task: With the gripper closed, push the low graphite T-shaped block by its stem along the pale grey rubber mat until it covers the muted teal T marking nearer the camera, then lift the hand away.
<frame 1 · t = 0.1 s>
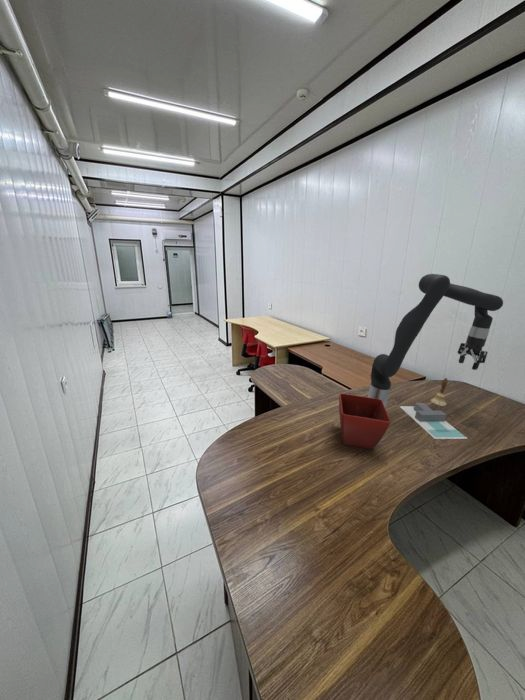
hand: (467, 366, 141), 29 cm above the table, tool pointing down, fingers open, 8 cm apart
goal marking: (440, 428, 137), resting on runner mat
runner mat: (430, 421, 143), on the table
t block: (424, 415, 148), resting on runner mat, touching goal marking
hand bell: (438, 403, 164), on the table
plant pot: (356, 439, 125), on the table
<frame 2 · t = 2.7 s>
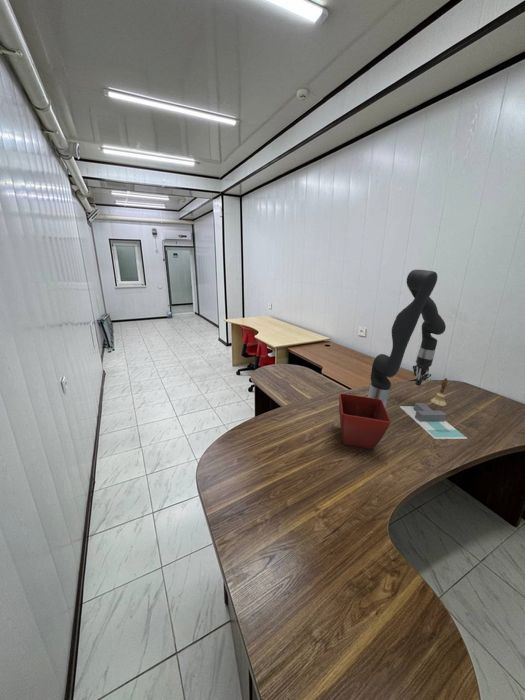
hand: (417, 385, 155), 13 cm above the table, tool pointing down, fingers closed
nothing on the table moved.
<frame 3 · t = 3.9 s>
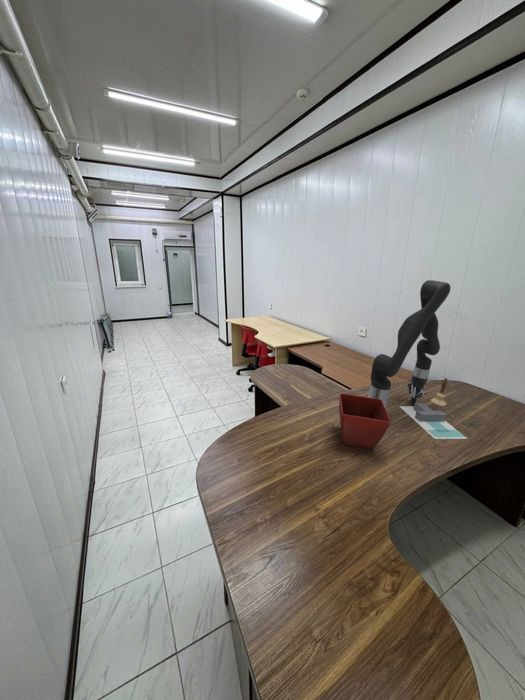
hand: (412, 402, 158), 2 cm above the table, tool pointing down, fingers closed
nothing on the table moved.
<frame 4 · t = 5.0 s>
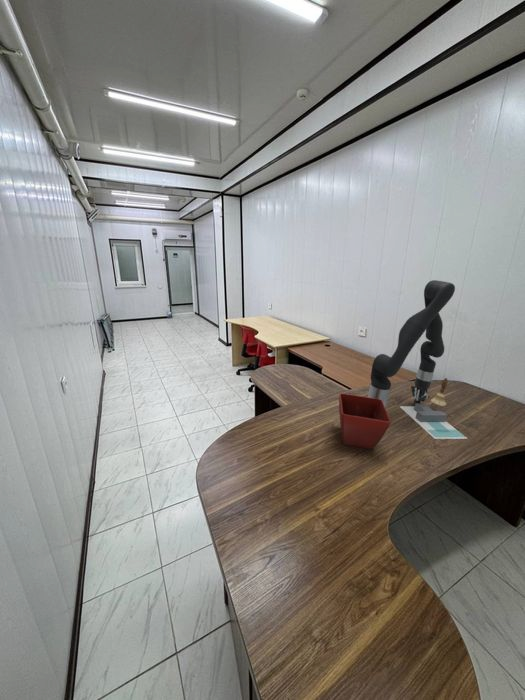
hand: (416, 405, 155), 2 cm above the table, tool pointing down, fingers closed
t block: (425, 415, 148), resting on runner mat, touching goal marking, gripper
everything else where it was.
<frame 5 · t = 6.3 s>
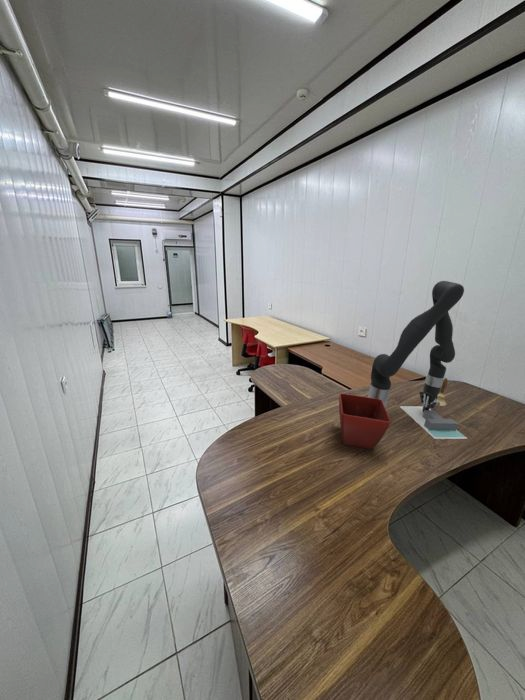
hand: (424, 412, 148), 2 cm above the table, tool pointing down, fingers closed
t block: (434, 423, 141), resting on runner mat, touching gripper
everything else where it was.
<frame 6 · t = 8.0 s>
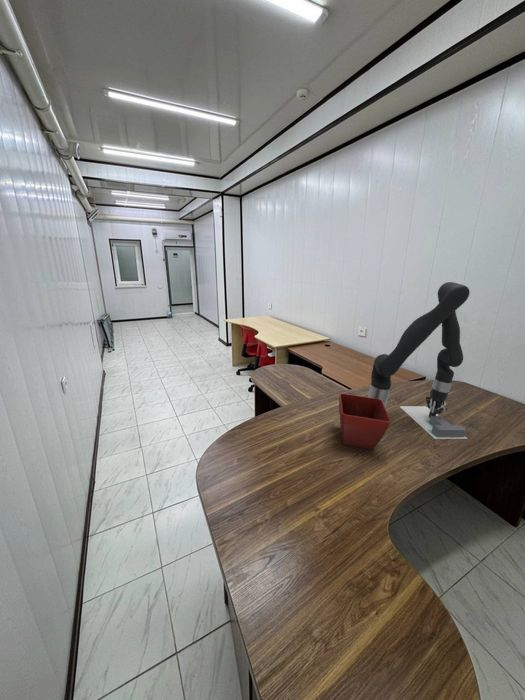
hand: (431, 418, 143), 2 cm above the table, tool pointing down, fingers closed
t block: (441, 429, 136), resting on runner mat, touching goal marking, gripper
everything else where it was.
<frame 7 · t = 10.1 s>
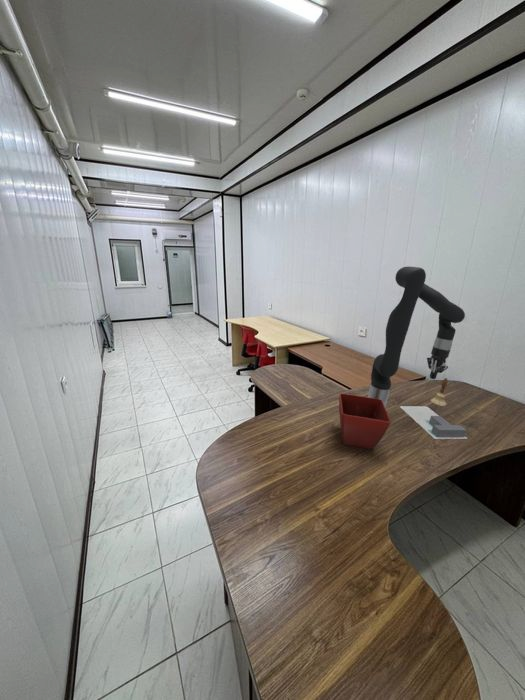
hand: (432, 378, 143), 21 cm above the table, tool pointing down, fingers closed
t block: (441, 429, 136), resting on runner mat, touching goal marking
everything else where it was.
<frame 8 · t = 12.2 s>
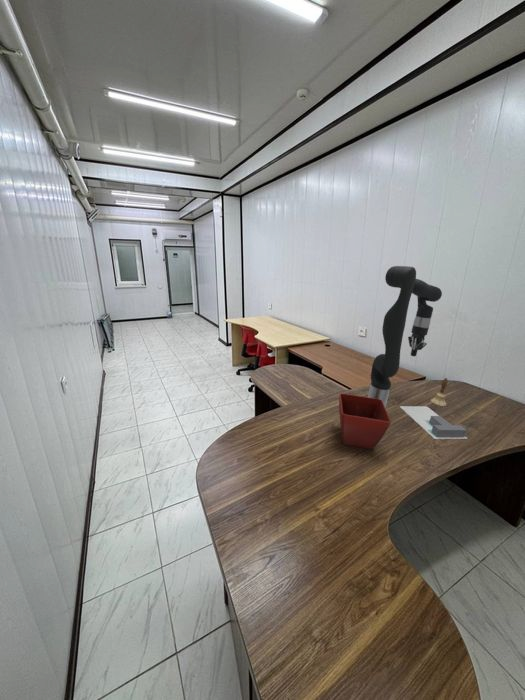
hand: (413, 355, 151), 29 cm above the table, tool pointing down, fingers closed
nothing on the table moved.
at the end: t block inside the target area on the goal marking (1.0 cm from its centre), point 0.3 cm above the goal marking's base; t block tilted 0° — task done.
